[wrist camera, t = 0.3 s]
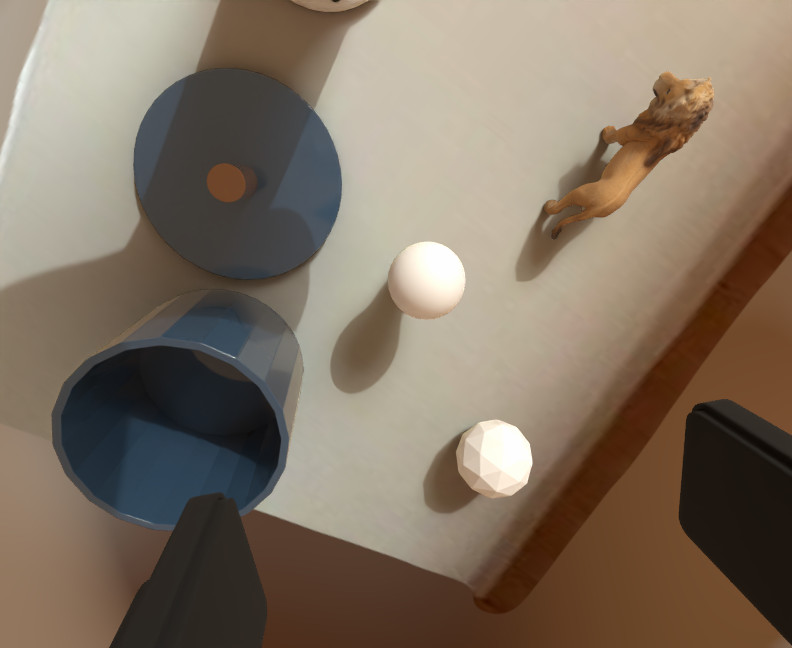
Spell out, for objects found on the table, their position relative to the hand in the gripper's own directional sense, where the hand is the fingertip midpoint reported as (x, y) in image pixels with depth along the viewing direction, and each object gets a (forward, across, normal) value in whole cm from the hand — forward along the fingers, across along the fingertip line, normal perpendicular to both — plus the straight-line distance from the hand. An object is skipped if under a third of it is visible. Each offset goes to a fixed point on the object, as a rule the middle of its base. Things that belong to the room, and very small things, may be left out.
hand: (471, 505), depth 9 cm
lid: (+34, +10, -8) cm, 37 cm away
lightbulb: (+35, -4, +2) cm, 35 cm away
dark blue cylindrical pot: (+35, +17, +9) cm, 40 cm away
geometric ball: (+36, -9, +23) cm, 43 cm away
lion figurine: (+35, -22, -5) cm, 42 cm away
